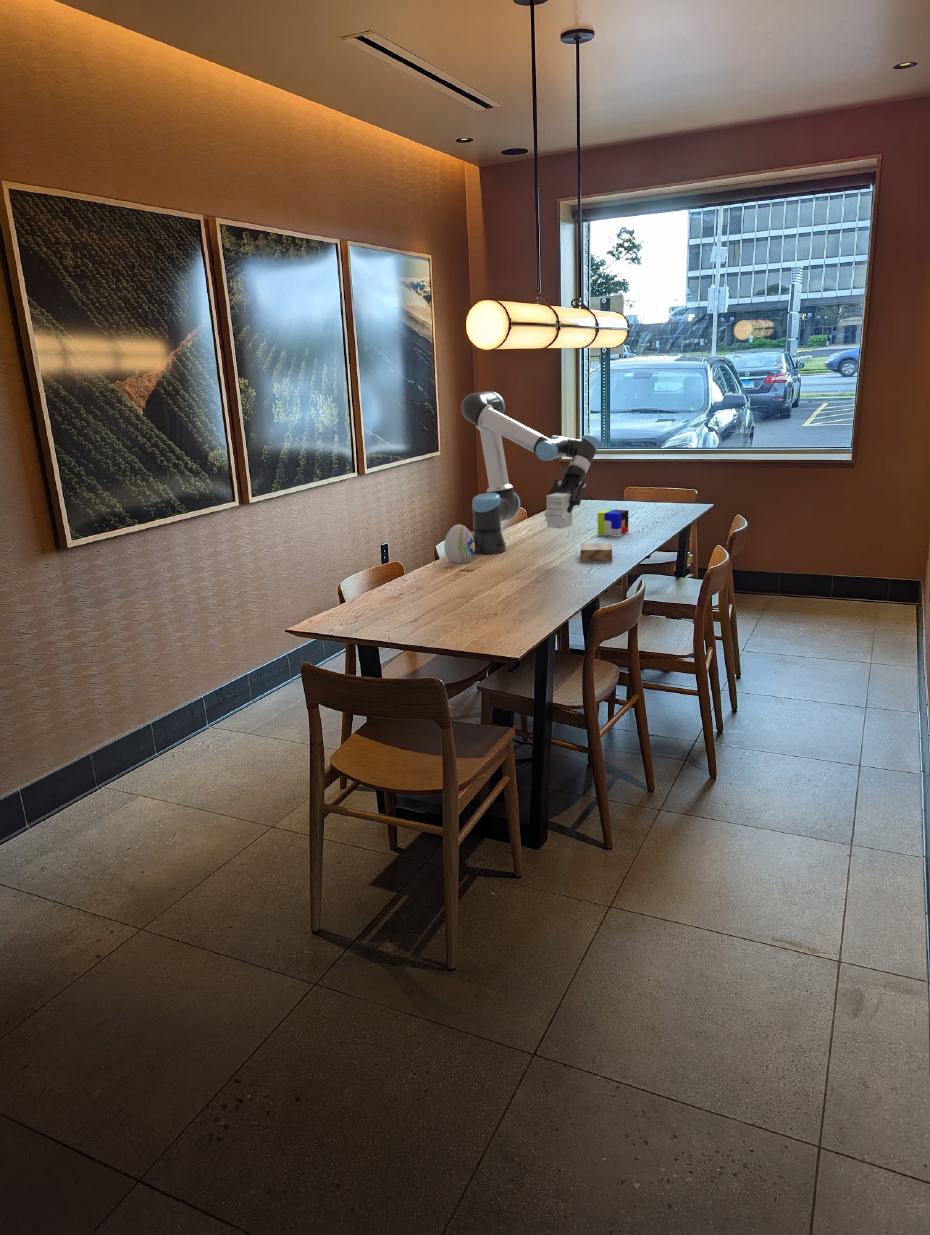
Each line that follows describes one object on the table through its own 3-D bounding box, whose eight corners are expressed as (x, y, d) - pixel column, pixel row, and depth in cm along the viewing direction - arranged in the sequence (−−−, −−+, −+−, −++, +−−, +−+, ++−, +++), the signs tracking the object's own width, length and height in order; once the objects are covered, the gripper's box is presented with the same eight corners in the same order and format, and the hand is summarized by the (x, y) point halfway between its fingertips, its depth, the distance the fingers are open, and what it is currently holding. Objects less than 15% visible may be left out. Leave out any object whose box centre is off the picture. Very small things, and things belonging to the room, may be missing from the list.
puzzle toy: (617, 536, 369) (618, 514, 367) (597, 534, 375) (597, 512, 372) (628, 532, 377) (628, 510, 374) (608, 530, 383) (608, 509, 380)
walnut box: (580, 562, 327) (580, 550, 326) (581, 555, 338) (581, 543, 337) (611, 562, 325) (612, 549, 324) (611, 555, 337) (611, 543, 335)
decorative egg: (469, 565, 329) (468, 527, 325) (440, 564, 333) (438, 527, 329) (479, 558, 340) (478, 521, 336) (451, 557, 344) (449, 521, 340)
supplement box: (556, 524, 332) (556, 492, 328) (572, 525, 327) (572, 493, 323) (546, 527, 326) (545, 495, 322) (562, 529, 322) (562, 496, 318)
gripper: (603, 477, 326) (580, 525, 319) (559, 474, 339) (537, 521, 332) (595, 465, 321) (572, 514, 314) (551, 463, 333) (528, 510, 327)
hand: (554, 517), depth 323 cm, fingers closed on supplement box, 7 cm apart
